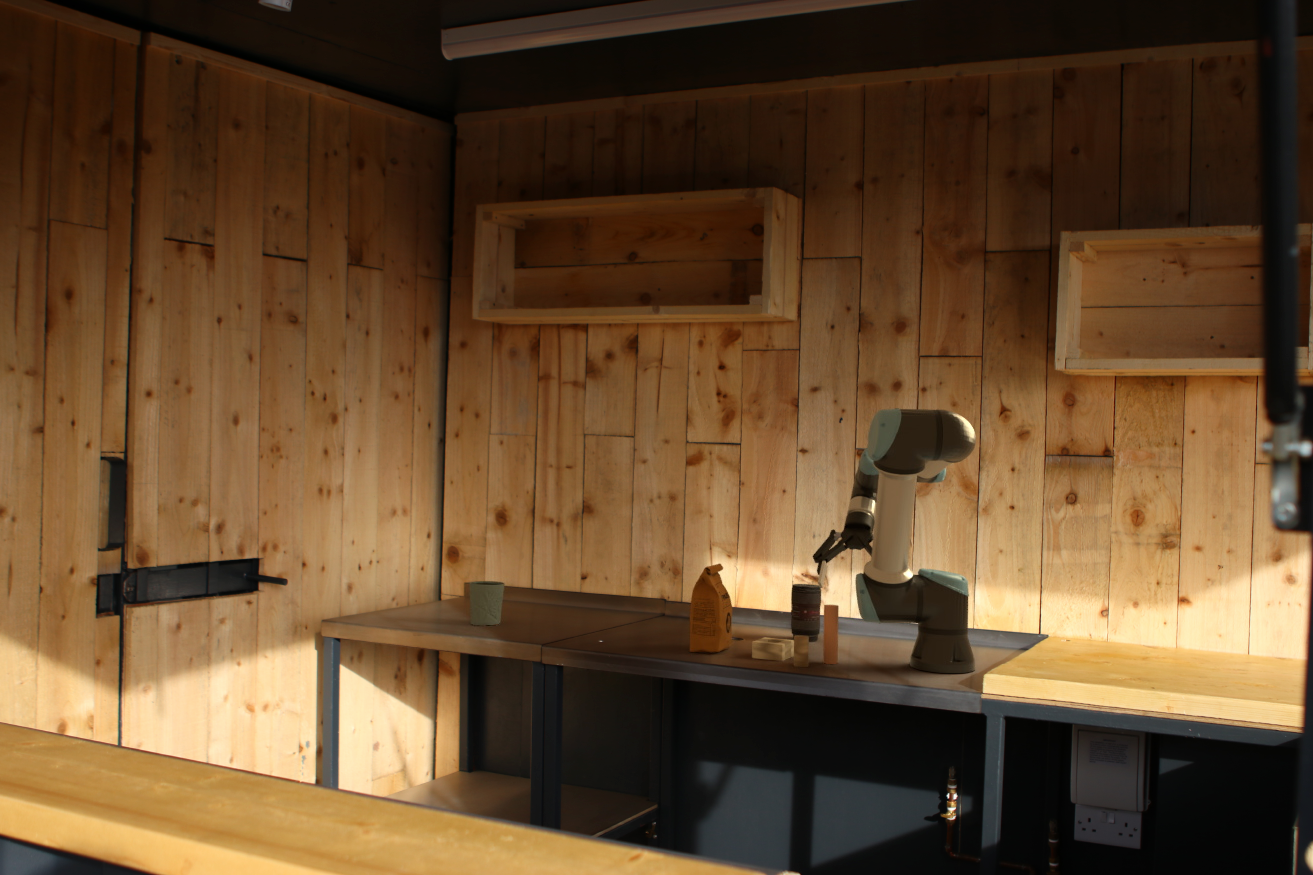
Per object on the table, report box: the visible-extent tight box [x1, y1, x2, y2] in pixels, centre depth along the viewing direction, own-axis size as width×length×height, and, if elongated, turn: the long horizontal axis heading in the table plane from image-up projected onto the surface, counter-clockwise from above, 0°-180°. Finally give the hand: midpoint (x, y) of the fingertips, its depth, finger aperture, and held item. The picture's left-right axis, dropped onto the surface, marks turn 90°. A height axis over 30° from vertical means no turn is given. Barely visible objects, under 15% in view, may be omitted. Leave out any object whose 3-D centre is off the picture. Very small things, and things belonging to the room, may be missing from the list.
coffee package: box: [689, 563, 733, 654], centre depth 286 cm, size 10×12×22 cm
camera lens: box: [790, 583, 822, 643], centre depth 305 cm, size 8×8×15 cm
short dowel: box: [793, 635, 810, 668], centre depth 268 cm, size 4×4×7 cm
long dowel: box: [822, 604, 840, 665], centre depth 271 cm, size 4×4×14 cm
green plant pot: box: [468, 580, 505, 626], centre depth 324 cm, size 10×10×12 cm
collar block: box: [751, 637, 794, 662], centre depth 278 cm, size 8×8×4 cm
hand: (846, 587), depth 281 cm, fingers open, 13 cm apart
